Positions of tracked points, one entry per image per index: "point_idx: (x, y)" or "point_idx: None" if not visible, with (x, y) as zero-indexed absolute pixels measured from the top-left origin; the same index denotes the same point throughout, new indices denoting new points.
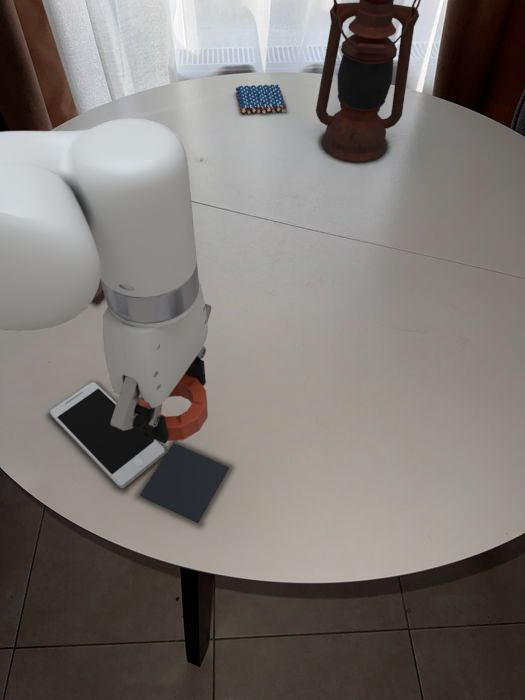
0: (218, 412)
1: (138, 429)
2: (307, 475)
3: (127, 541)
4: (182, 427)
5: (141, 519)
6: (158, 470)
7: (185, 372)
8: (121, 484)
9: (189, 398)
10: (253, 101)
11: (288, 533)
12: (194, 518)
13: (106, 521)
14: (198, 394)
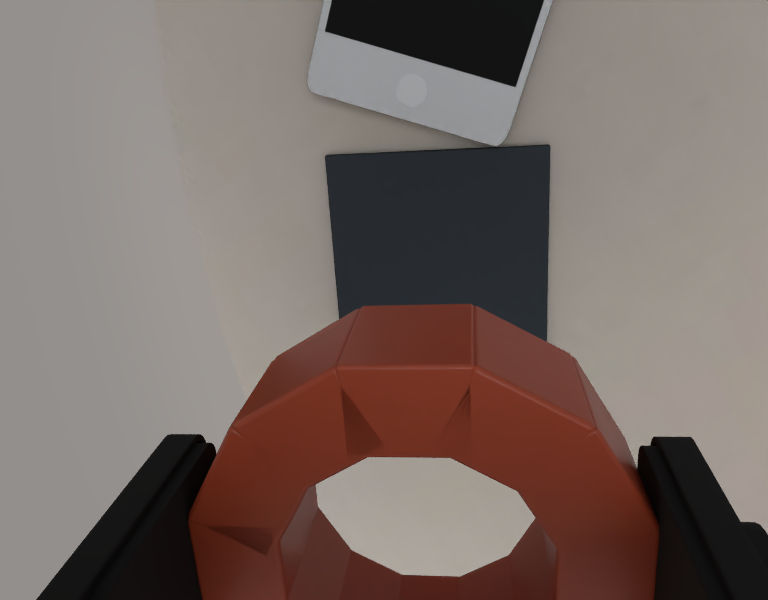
0: (744, 218)
1: (159, 448)
2: None
3: (193, 207)
4: None
5: (267, 205)
6: (428, 161)
7: (663, 573)
8: (313, 87)
9: (535, 540)
10: None
11: (438, 560)
12: None
13: (203, 111)
14: None
